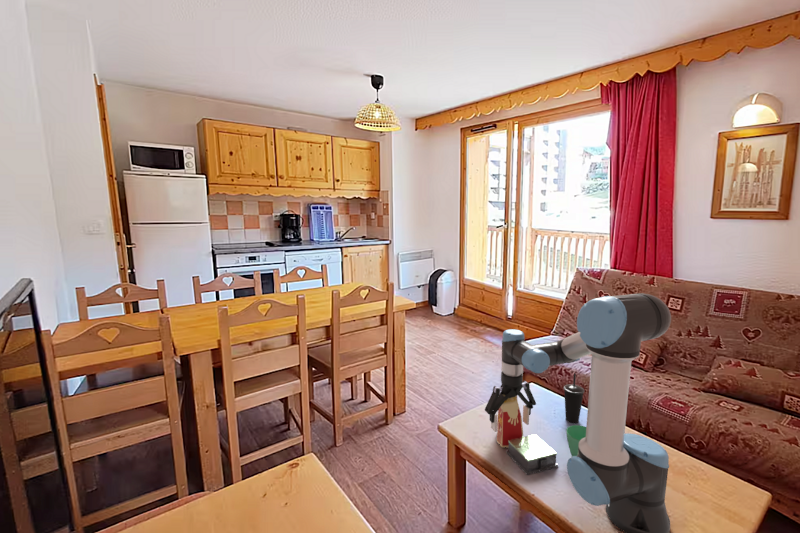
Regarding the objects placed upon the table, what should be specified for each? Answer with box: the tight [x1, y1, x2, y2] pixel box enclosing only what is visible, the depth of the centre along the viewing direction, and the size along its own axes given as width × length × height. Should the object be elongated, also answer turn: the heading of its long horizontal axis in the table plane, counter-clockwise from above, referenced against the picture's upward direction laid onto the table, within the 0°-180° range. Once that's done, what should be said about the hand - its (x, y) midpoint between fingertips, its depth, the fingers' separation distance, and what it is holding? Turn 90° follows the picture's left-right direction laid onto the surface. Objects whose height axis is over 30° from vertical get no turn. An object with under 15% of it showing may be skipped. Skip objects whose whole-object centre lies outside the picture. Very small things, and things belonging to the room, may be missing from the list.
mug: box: [565, 424, 586, 457], centre depth 132 cm, size 15×10×10 cm
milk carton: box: [496, 394, 524, 448], centre depth 141 cm, size 9×9×20 cm
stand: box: [506, 434, 559, 476], centre depth 131 cm, size 12×12×5 cm
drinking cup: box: [563, 373, 585, 424], centre depth 154 cm, size 8×8×20 cm
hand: (510, 426), depth 141 cm, fingers open, 13 cm apart
